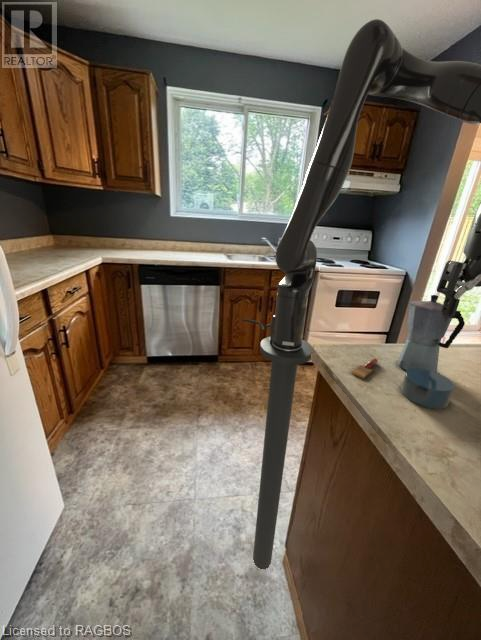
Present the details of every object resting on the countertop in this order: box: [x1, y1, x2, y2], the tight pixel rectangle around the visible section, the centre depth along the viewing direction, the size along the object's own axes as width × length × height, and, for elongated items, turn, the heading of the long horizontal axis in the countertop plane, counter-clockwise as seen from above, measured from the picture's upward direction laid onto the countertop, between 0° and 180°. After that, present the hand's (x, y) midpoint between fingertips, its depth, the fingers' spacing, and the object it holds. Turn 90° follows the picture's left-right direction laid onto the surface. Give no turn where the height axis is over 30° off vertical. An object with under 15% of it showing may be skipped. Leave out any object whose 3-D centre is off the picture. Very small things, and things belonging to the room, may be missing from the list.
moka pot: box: [397, 294, 466, 372], centre depth 69 cm, size 10×15×20 cm, turn 15°
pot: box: [400, 368, 455, 410], centre depth 60 cm, size 9×12×4 cm
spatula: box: [351, 357, 378, 379], centre depth 71 cm, size 11×3×1 cm, turn 133°
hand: (467, 316), depth 53 cm, fingers open, 8 cm apart
